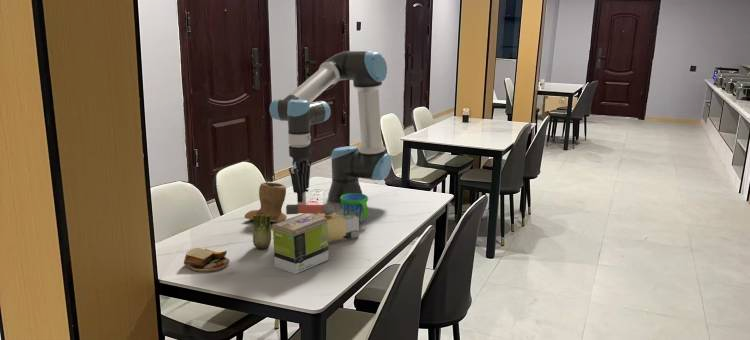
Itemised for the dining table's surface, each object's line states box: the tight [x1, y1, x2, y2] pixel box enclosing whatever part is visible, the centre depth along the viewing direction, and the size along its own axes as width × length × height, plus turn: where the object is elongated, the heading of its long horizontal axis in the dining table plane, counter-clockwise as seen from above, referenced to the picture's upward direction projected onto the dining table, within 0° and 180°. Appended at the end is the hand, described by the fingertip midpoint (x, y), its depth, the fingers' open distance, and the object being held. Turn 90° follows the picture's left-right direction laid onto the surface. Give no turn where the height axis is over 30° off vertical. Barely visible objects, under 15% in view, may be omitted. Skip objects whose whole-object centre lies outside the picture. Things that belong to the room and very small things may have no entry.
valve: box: [315, 211, 360, 245], centre depth 212 cm, size 7×22×10 cm, turn 121°
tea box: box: [272, 213, 330, 275], centre depth 191 cm, size 15×10×15 cm, turn 141°
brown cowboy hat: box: [243, 181, 288, 223], centre depth 234 cm, size 15×12×15 cm
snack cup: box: [339, 193, 369, 225], centre depth 233 cm, size 16×10×10 cm
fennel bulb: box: [252, 215, 272, 250], centre depth 205 cm, size 6×5×12 cm
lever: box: [285, 203, 335, 215], centre depth 210 cm, size 17×4×3 cm, turn 93°
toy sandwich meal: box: [183, 247, 230, 273], centre depth 191 cm, size 12×14×5 cm
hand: (301, 209), depth 213 cm, fingers closed
